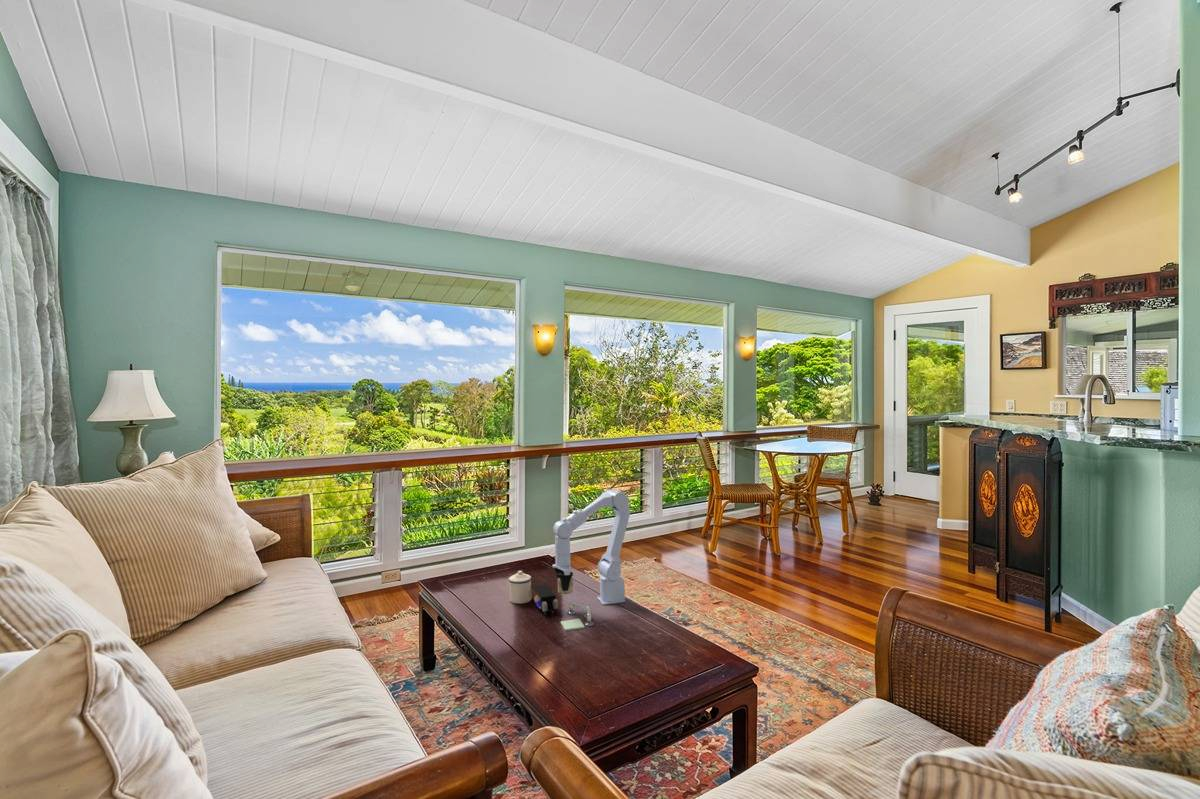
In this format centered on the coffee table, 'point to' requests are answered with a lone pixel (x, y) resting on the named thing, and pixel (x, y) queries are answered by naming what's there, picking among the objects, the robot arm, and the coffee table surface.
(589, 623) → the grey piece
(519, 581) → the teacup with lid
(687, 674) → the coffee table surface
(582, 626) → the pad
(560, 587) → the maple ring
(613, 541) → the robot arm
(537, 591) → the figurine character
